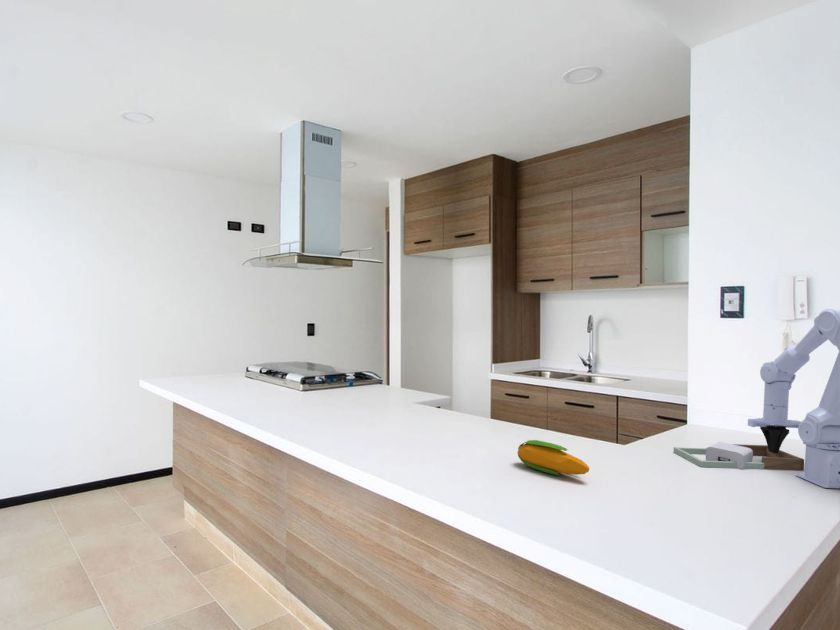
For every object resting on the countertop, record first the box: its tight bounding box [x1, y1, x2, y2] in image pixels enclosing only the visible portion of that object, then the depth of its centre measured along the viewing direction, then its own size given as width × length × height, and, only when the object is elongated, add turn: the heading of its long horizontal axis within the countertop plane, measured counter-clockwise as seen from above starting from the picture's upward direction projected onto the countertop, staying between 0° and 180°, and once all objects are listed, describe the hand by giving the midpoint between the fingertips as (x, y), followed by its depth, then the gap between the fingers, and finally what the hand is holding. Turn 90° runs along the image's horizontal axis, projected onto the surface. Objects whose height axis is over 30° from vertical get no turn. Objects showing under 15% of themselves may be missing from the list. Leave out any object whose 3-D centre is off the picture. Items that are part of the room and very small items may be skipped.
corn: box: [517, 439, 590, 476], centre depth 126 cm, size 7×8×20 cm
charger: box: [705, 442, 754, 470], centre depth 144 cm, size 5×9×15 cm
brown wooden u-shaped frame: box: [732, 443, 805, 471], centre depth 144 cm, size 14×11×3 cm
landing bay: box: [673, 446, 765, 470], centre depth 143 cm, size 14×18×2 cm
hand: (773, 452), depth 144 cm, fingers closed
